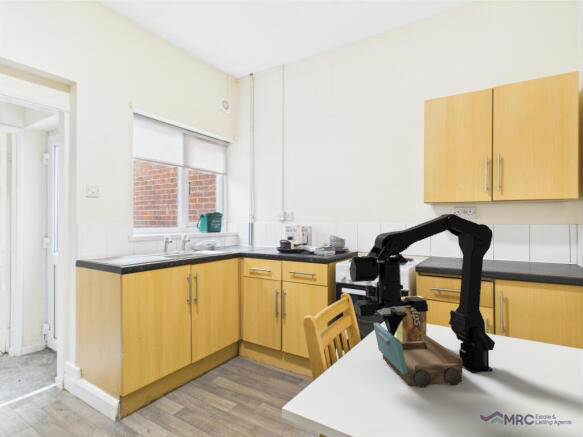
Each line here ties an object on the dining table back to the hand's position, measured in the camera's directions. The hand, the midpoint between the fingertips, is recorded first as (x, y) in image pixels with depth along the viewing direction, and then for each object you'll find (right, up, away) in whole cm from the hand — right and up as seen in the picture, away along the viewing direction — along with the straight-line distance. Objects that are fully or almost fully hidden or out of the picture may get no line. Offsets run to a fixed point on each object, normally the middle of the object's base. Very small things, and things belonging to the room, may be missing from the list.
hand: (391, 337), depth 86 cm
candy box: (+13, -9, +19) cm, 25 cm away
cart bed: (+8, -9, +1) cm, 12 cm away
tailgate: (0, -6, 0) cm, 6 cm away
